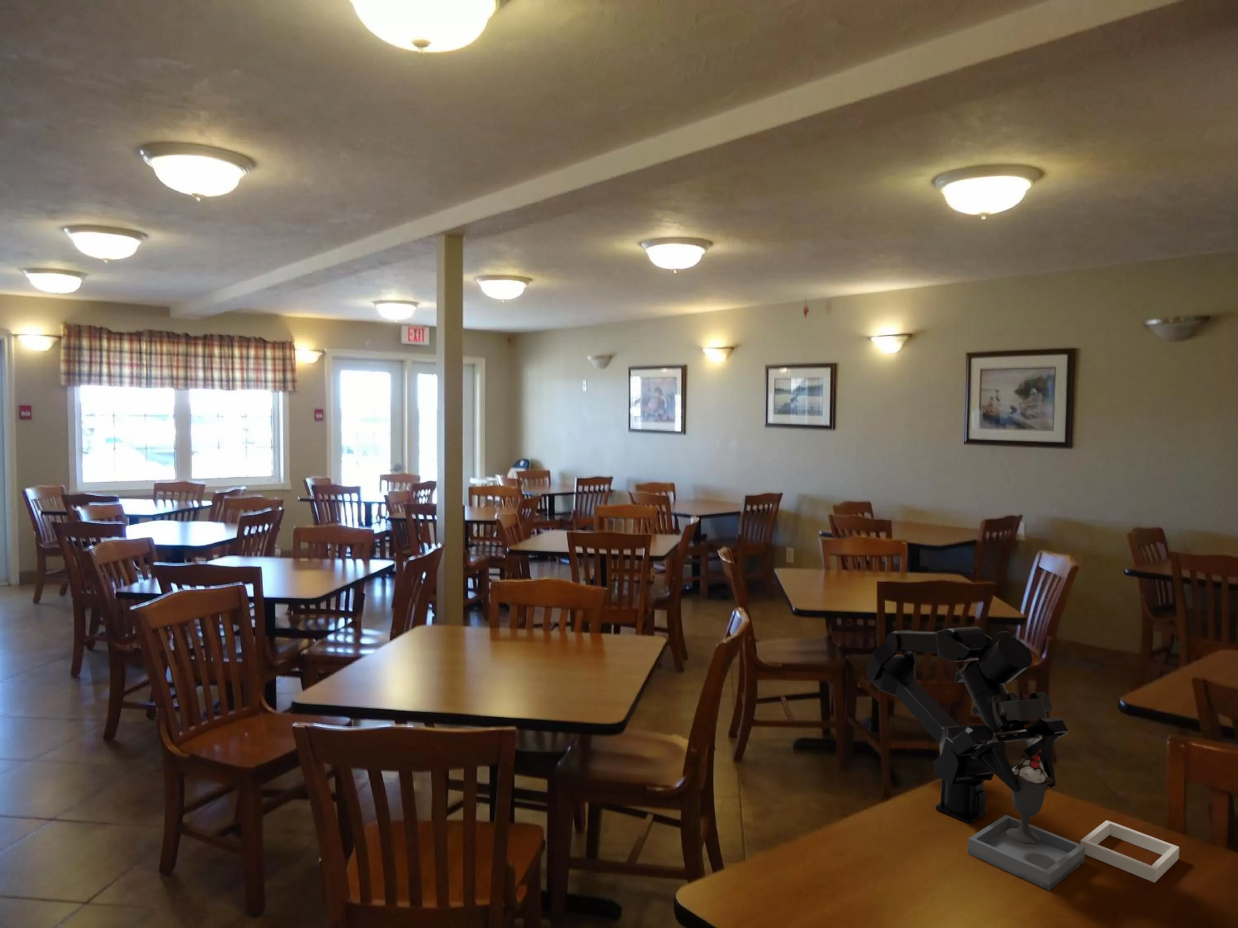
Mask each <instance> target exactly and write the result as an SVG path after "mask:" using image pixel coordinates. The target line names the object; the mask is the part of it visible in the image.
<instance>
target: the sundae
mask: <svg viewBox="0 0 1238 928" xmlns="http://www.w3.org/2000/svg"><path fill="white" fill-rule="evenodd" d="M1037 752H1038V751H1037ZM1037 752H1036V754H1035V755H1033V756H1032V757H1030V756H1029V757H1028V756H1027V755H1026V754H1022V756H1021V758H1020V760H1019V763H1018V764H1016V766H1015V765H1010V766H1011V768H1012V770H1013V772H1014V774H1015V777H1016V779H1017V781H1018V784H1019V787H1020V791H1019V792H1017V793H1015V792H1014V791H1013V790H1012V789H1011V800H1012V806H1013V807H1014V808H1015V810H1016V811H1017V812H1018V813H1019V815H1020V820H1021V823H1020V826H1019V828H1010V829H1008V830H1007V831H1006V833H1007V835H1008V836H1009V837H1011V838H1012V839H1014V840H1016V841H1018V842H1021V843H1025V844H1031V845H1035V844H1039V843H1040V842H1041V839H1040V838H1039V837H1038V836H1037V835H1035V834H1034V833H1032V832H1030V830H1029V824H1030V818H1031V817H1034V816H1036V815H1037V814H1039V813H1040V812H1041V809H1042V807H1043V803H1044V800H1045V795H1046V793H1047V790H1048V787H1049V785H1051V784H1053V780H1052V779H1051V778H1050V777H1049V776H1048V775H1047V774H1046V773H1045V771H1044V768H1043V764H1042V763H1041V761H1040V757H1039V756H1038V755H1037V754H1038V753H1040V752H1042V751H1041V749H1039V752H1038V753H1037Z"/></svg>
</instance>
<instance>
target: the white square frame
mask: <svg viewBox="0 0 1238 928" xmlns="http://www.w3.org/2000/svg"><path fill="white" fill-rule="evenodd" d="M1108 836H1110V837H1111V836H1112V837H1114V838H1117V839H1119V840H1122V841H1123V842H1124V841H1125V842H1127V843H1129V844H1131V845H1135V846H1137V847H1139V848H1143V849H1145V850H1148V851H1150V852H1153V853H1154V854H1155V853H1156V854H1158V855H1160V857H1159V858H1158V859H1157V860H1156V861H1155V862H1154V863H1153V864H1152V865H1149V864H1148V863H1145V862H1143V861H1140V860H1137V859H1136V858H1133V857H1130V856H1127V855H1125V854H1123V853H1120V852H1117V851H1116V850H1112V849H1109V848H1107V847H1105V846H1102V845H1099V844H1100V843H1101V842H1102V841H1104V840H1105V839H1106V838H1107V837H1108ZM1079 844H1080V845H1083V846H1085V856H1088V857H1091V858H1093V859H1096V860H1098V861H1101V862H1104V863H1106V864H1108V865H1110V866H1113V867H1115V868H1118V869H1121V870H1123V871H1125V872H1127V873H1131V874H1133V875H1135V876H1137V877H1140V878H1142V879H1145V880H1147V881H1149V882H1151V883H1154V884H1155V883H1156V882H1157V881H1158V880H1159V879H1160V878H1161V877H1163V875H1164V874H1165V873H1166V872H1168V870H1169V869H1170V868H1171V867H1173V865H1175V863H1176V862H1177V861H1178V860H1179V856H1180V846H1177V845H1175V844H1172V843H1169V842H1167V841H1164V840H1161V839H1159V838H1156V837H1154V836H1151V835H1148V834H1145V833H1143V832H1140V831H1137V830H1134V829H1132V828H1129V827H1127V826H1124V825H1121V824H1119V823H1116V822H1113V821H1110V820H1105V821H1104V822H1103V823H1101V824H1100V825H1098V826H1097V827H1096V828H1094V830H1092V831H1091V832H1090V833H1088V834H1087V835H1085V836H1084V837H1083V838H1082V839H1080V843H1079Z"/></svg>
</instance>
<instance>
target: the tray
mask: <svg viewBox="0 0 1238 928" xmlns="http://www.w3.org/2000/svg"><path fill="white" fill-rule="evenodd" d="M1020 823H1021V819H1018V818H1016V817H1013V816H1011V815H1008V814H1004V815H1003V816H1001V817H1000V818H998V819H997V820H995V821H993V822H992V823H991V824H989V825H987V826H986V827H984V828H983V829H981V830H980V831H978V832H976V833H975V834H973V835H972V836H970V837H968V840H967V841H968V842H967V843H968V844H967V854H968V855H970V856H973V857H974V858H977V859H979V860H981V861H982V862H983V861H984V862H986V863H988V864H990V865H992V866H994V867H996V868H999V869H1001V870H1004V871H1005V872H1008V873H1010V874H1012V875H1013V876H1016V877H1019V878H1021V879H1024V880H1025V881H1028V882H1029V883H1031V884H1034V885H1035V886H1038V887H1039V888H1043V889H1045V890H1047V891H1051V890H1052V889H1053V888H1054V887H1056V886H1057V885H1058V884H1059V883H1060V882H1061V881H1063V880H1064V879H1065V878H1067V876H1069V875H1070V874H1071V873H1072V872H1074V871H1075V870H1077V868H1079V867H1080V866H1081V865H1082V864H1084V863H1085V858H1086V854H1085V846H1083V845H1080V843H1077V842H1075V841H1072V840H1070V839H1068V838H1065V837H1062V836H1060V835H1058V834H1056V833H1053V832H1051V831H1047V830H1045V829H1043V828H1040V827H1038V826H1035V825H1034V824H1030V823H1029V830H1030V832H1032V833H1034V834H1035V835H1037V836H1038V837H1039V838H1040V839H1041V842H1040V843H1039V844H1035V845H1031V844H1025V843H1021V842H1018V841H1016V840H1014V839H1012V838H1011V837H1009V836H1008V835H1007V833H1006V831H1007V830H1008V829H1010V828H1019V826H1020Z"/></svg>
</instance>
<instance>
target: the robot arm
mask: <svg viewBox="0 0 1238 928" xmlns="http://www.w3.org/2000/svg"><path fill="white" fill-rule="evenodd" d="M898 652H899V653H900V652H904V653H903V654H897V653H898ZM916 653H928V654H929V653H930V654H936V655H938V656H939V657H940V658H941V659H943V660H947V661H949V662H951V663H953V662H964V661H969V662H968V663H966V665H959V666H957V667H956V669H957V670H956V673H955V674H954V682H955V683H964V685H965V687H966V689H967V691H968V693H969V695H970V698H971V700H972V701H973V704H974V707H972V709H971V711H972V714H973V716H978V715H979V717H980V718H981V721H982V723H983V725H976V724H971V725H962V726H960V724H958V722H957V721H955V719H953V717H952V716H951V715H950V714H949V713H948V712H947V711H946V709H944V708H943V707H942V706H941V705H940V704H939V703H938V702H937V701H936V699H934V698H933V697H932V695H930V693H928V692H927V690H925V688H923V687H922V686H921V684H920V683H919V682H918V681H917V680H916V669H915V668H916V666H917V664H918V660H917V655H916ZM1032 662H1033V655H1032V652H1031V650H1030V648H1029V647H1028V646H1026V644H1025V643H1023V642H1022V641H1020V640H1019V639H1017V638H1015V637H1013V636H1012V635H1011V633H1010V632H1009V631H1008V630H1007V631H997V633H995V635H993V637H991V636H989V635H987V634H986V633H985V632H984V629H983V628H982V627H980V626H968V627H951V628H949V627H948V628H944V629H939V630H937V631H913V630H910V629H907V630H906V629H905V630H893V631H892V632H889V633H888V634H887V636H886V638H885V640H884V642H882V643H881V644H880V645H879V646H877V648H876V649H874V650H873V651H872V653H871V655H870V657H869V659H868V661H867V664H866V667H865V672H866V676H867V678H868V679H869V682H870V683H871V684H872V685H874V686H875V687H876V688H877V689H879V690H880V692H881V691H882V692H883V693H886V694H889V695H892V696H894V697H896V698H897V699H898V701H900V702H901V703H902V705H903V706H904V707H905V708H906V709H907V710H908V711H909V712H910V713H911V714H912V715H913V717H915V719H916V721H918V722H919V723H920V724H921V726H923V728H924V729H925V730H926V731H927V732H928V734H929V735H930V736H932V738H933V739H934V740H935V741H936V742H937V743H938V746H939V756H938V757H937V758H935V760H933V761H932V767H933V773H934V775H935V776H936V777H938V778H939V779H941V783H940V784H941V785H940V803H938V804H936V805H935V809H936V810H937V811H940V813H944V814H946V815H948V816H951V817H954V818H956V819H958V820H961V821H963V822H965V823H972V822H974V821H976V820H977V819H979V818H980V817H982V816H984V815H985V814H987V813H988V809H987V808H986V804H987V803H986V802H987V791H986V790H984V789H985V788H984V787H985V781H990V782H991V781H992V780H993V778H994V776H996V777H997V778H998V779H1000V780H1001V782H1002V783H1004V784H1005V785H1006V786H1007V787H1008V788H1009V789H1011V791H1012V790H1013V791H1014V792H1015V793H1017V792H1019V791H1020V787H1019V784H1018V781H1017V779H1016V777H1015V774H1014V772H1013V770H1012V768H1011V766H1012V765H1011V764H1010V762H1009V760H1008V757H1007V755H1006V743H1011V742H1013V743H1014V742H1020V741H1024V742H1026V745H1027V748H1025V749H1024V750H1023V751H1024V753H1025V756H1027V757H1029V756H1030V757H1032V756H1033V755H1035V754H1036V752H1037V751H1038V752H1039V749H1041V751H1042V752H1040V753H1038V752H1037V753H1038V754H1037V755H1038V756H1039V757H1040V761H1041V763H1042V764H1043V768H1044V771H1045V773H1046V774H1047V775H1048V776H1049V777H1050V778H1051V779H1052V780H1053V784H1051V785H1049V786H1048V787H1049V788H1051V789H1052V788H1054V787H1056V786H1057V785H1056V784H1057V783H1056V777H1055V770H1054V764H1053V746H1054V743H1055V742H1057V741H1058V740H1059V739H1060V738H1062V737H1063V736H1065V735H1066V734H1068V733H1070V731H1069V728H1068V727H1067V725H1066V723H1065V722H1064V719H1061V718H1060V717H1057V716H1055V717H1053V716H1052V717H1047V713H1049V712H1052V710H1053V707H1052V702H1051V699H1050V698H1049V697H1048V695H1047V694H1046V692H1045V691H1036V692H1030V693H1029V695H1028V699H1019V696H1018V695H1017V694H1016V693H1014V692H1010V693H1009V691H1008V690H1007V688H1006V685H1005V684H1007V683H1008V684H1009V683H1010V682H1011V681H1012V680H1014V679H1015V678H1016V677H1017V676H1018V675H1020V674H1022V672H1023V671H1025V670H1026V669H1028V667H1030V666H1031V665H1032ZM1033 719H1038V720H1037V721H1035V722H1033ZM1032 722H1033V723H1032ZM1031 723H1032V724H1031ZM1029 724H1031V725H1029ZM1026 725H1029V726H1027V727H1025V726H1026Z"/></svg>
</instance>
